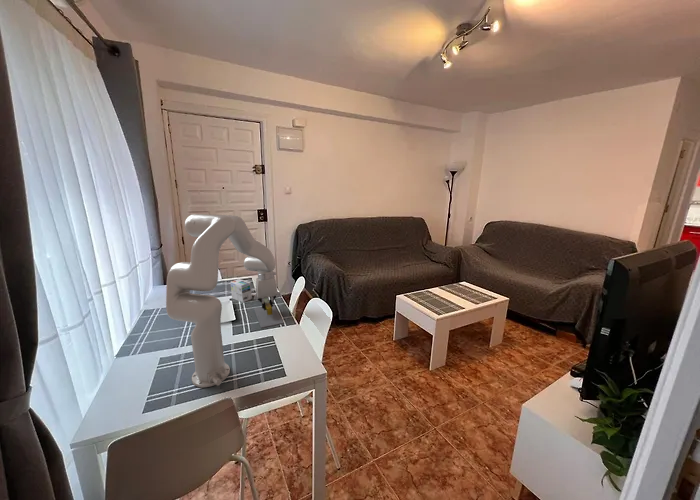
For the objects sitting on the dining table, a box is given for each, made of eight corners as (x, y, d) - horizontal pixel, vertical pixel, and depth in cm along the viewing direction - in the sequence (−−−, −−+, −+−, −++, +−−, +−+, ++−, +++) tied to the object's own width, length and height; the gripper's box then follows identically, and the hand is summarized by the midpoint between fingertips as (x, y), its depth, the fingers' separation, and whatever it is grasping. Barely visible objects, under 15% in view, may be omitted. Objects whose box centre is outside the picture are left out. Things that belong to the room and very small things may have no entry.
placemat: (283, 323, 140) (283, 322, 140) (261, 328, 135) (260, 327, 135) (274, 305, 159) (274, 304, 159) (253, 309, 154) (253, 308, 154)
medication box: (262, 305, 151) (262, 298, 150) (268, 304, 152) (267, 297, 151) (267, 315, 140) (266, 308, 139) (272, 314, 142) (272, 307, 141)
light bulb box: (252, 298, 167) (251, 282, 164) (242, 303, 161) (241, 285, 159) (241, 294, 172) (239, 278, 170) (231, 298, 167) (229, 281, 164)
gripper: (280, 271, 148) (281, 303, 153) (247, 275, 141) (250, 308, 145) (283, 275, 141) (284, 308, 146) (249, 280, 134) (252, 315, 139)
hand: (267, 308), depth 146 cm, fingers closed on medication box, 2 cm apart
